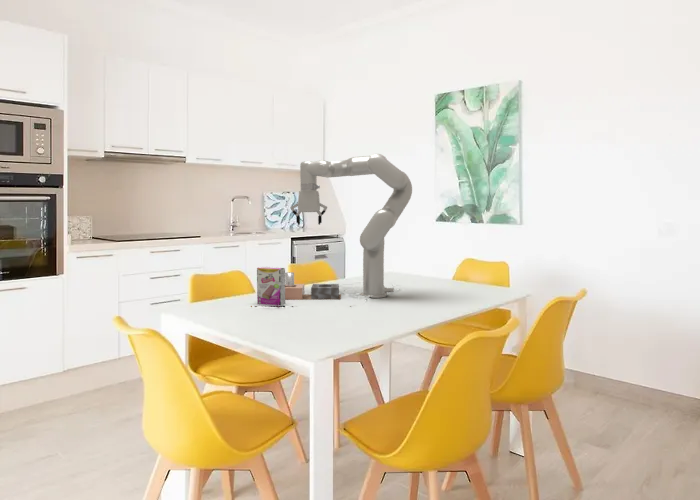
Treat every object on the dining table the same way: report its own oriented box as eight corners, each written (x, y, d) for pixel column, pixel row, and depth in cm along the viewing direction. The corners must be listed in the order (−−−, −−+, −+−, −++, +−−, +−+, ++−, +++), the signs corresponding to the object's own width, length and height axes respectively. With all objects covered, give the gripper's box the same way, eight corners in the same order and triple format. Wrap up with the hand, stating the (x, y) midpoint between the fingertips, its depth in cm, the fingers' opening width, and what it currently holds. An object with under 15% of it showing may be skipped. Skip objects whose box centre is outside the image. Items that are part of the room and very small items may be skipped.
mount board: (341, 296, 257) (341, 283, 256) (340, 301, 243) (340, 288, 242) (276, 296, 257) (276, 283, 256) (272, 302, 243) (272, 288, 243)
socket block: (304, 294, 256) (304, 284, 255) (302, 299, 244) (301, 288, 243) (278, 294, 256) (278, 284, 255) (274, 299, 244) (274, 288, 244)
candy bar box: (256, 306, 233) (256, 267, 232) (262, 304, 238) (261, 266, 237) (280, 307, 230) (280, 268, 228) (286, 305, 234) (285, 267, 233)
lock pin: (295, 296, 252) (294, 272, 251) (294, 297, 248) (293, 273, 247) (286, 296, 252) (285, 272, 251) (285, 297, 248) (284, 273, 247)
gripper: (327, 188, 262) (327, 224, 264) (291, 188, 262) (291, 224, 264) (326, 187, 255) (327, 224, 256) (289, 188, 255) (289, 225, 256)
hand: (309, 224), depth 260 cm, fingers open, 9 cm apart
